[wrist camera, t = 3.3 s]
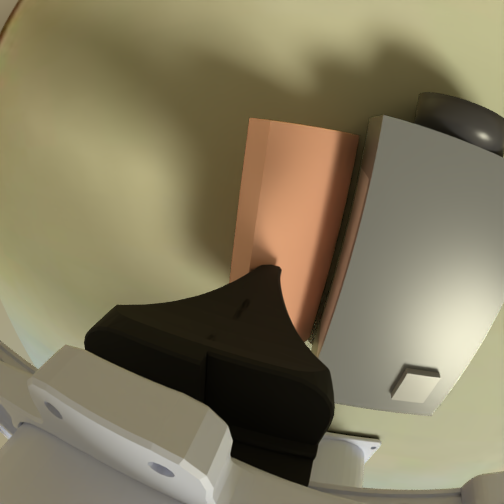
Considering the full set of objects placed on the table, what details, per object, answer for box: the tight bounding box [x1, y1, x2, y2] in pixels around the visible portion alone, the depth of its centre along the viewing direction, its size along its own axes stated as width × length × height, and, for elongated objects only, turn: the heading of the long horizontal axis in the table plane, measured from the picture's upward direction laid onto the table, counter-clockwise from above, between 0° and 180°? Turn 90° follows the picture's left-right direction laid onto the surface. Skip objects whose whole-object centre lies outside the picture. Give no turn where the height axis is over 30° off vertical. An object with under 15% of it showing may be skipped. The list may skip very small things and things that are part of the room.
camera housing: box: [311, 92, 504, 416], centre depth 13 cm, size 16×8×5 cm, turn 172°
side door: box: [229, 118, 359, 342], centre depth 14 cm, size 12×1×7 cm, turn 172°
